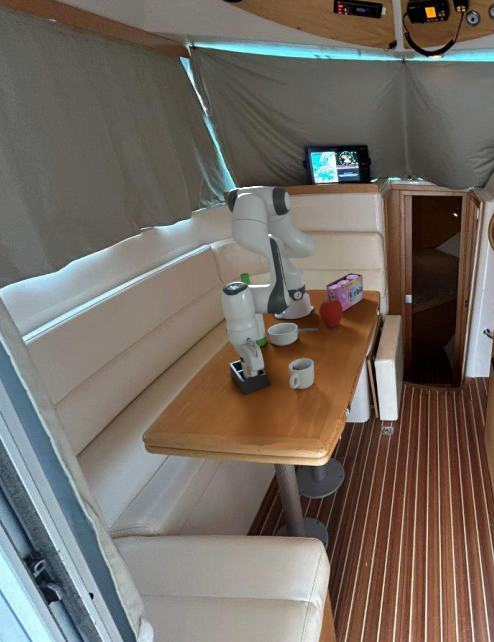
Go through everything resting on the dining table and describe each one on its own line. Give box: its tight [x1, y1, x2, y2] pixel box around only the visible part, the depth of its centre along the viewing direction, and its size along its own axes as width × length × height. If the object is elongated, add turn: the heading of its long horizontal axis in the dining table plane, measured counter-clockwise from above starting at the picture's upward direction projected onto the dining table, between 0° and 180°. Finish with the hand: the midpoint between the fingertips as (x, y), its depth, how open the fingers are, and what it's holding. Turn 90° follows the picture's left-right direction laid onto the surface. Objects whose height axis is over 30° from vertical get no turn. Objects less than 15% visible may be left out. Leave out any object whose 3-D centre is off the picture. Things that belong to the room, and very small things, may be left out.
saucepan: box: [267, 322, 319, 346], centre depth 149 cm, size 12×20×6 cm, turn 92°
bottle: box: [239, 272, 268, 348], centre depth 141 cm, size 8×8×30 cm
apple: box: [318, 298, 343, 328], centre depth 162 cm, size 10×10×14 cm
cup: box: [287, 357, 315, 390], centre depth 118 cm, size 11×8×8 cm
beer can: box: [239, 353, 260, 380], centre depth 118 cm, size 5×5×12 cm
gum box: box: [325, 272, 365, 313], centre depth 185 cm, size 24×8×14 cm, turn 159°
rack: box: [228, 359, 270, 395], centre depth 122 cm, size 15×8×5 cm, turn 43°
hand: (250, 370), depth 119 cm, fingers closed on beer can, 5 cm apart
